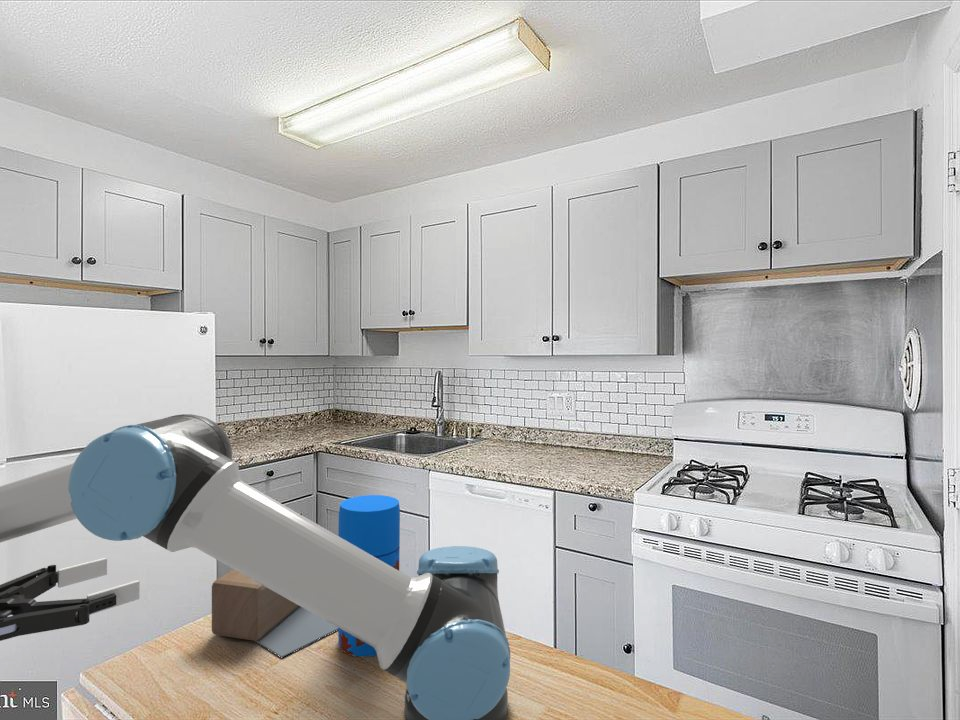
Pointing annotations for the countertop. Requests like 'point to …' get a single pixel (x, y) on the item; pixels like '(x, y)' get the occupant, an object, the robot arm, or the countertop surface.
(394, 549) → the thermos
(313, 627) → the mat
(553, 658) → the countertop surface
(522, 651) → the countertop surface
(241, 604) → the block
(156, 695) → the countertop surface
